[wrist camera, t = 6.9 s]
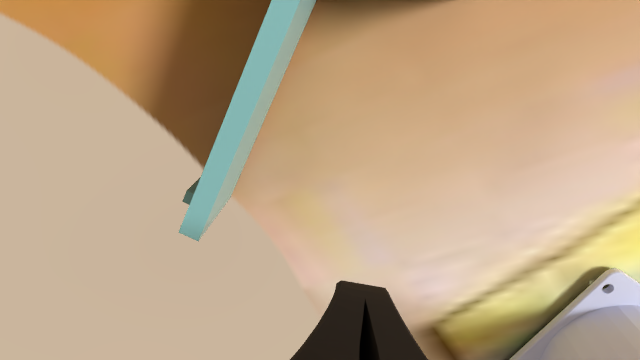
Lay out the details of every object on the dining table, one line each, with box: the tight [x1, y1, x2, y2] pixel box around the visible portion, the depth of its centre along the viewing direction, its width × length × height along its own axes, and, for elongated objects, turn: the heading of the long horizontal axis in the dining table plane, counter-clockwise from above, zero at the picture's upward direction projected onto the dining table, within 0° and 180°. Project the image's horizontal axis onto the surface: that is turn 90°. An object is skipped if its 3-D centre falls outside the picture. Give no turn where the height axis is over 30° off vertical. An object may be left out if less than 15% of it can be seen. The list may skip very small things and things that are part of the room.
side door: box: [179, 0, 316, 241], centre depth 16 cm, size 12×1×4 cm, turn 154°
